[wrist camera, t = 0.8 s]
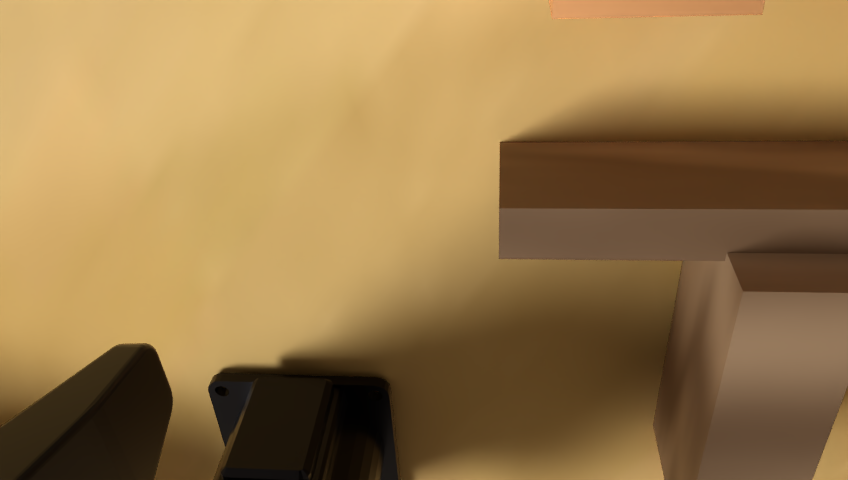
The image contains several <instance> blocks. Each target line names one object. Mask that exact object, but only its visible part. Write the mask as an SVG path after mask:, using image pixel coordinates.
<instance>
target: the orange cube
mask: <svg viewBox="0 0 848 480" xmlns="http://www.w3.org/2000/svg"><path fill="white" fill-rule="evenodd" d="M764 3H765V0H549V4H550V10H551V16H552V19H577V18H625V17H672V16H719V15H762V13H763V8H764Z"/></svg>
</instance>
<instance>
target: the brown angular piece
mask: <svg viewBox="0 0 848 480" xmlns="http://www.w3.org/2000/svg"><path fill="white" fill-rule="evenodd" d="M499 259H569V260H664V261H683V262H682V268H681V273H680V279H679V284H678V290H677V295H676V301H675V307H674V312H673V318H672V323H671V329H670V334H669V340H668V345H667V351H666V356H665V362H664V367H663V373H662V378H661V384H660V390H659V395H658V401H657V406H656V412H655V417H654V423H653V427H654V432H655V436H656V441H657V446H658V451H659V455H660V460H661V465H662V470H663V474H664V479H665V480H812V479H813V476H814V474H815V471H816V468H817V466H818V463H819V461H820V458H821V455H822V453H823V450H824V447H825V445H826V442H827V439H828V437H829V434H830V432H831V429H832V426H833V424H834V421H835V418H836V416H837V413H838V410H839V408H840V405H841V403H842V400H843V397H844V395H845V392H846V389H847V387H848V141H670V142H500V195H499Z"/></svg>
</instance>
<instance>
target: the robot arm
mask: <svg viewBox="0 0 848 480" xmlns="http://www.w3.org/2000/svg"><path fill="white" fill-rule="evenodd" d="M223 387H225V388H223ZM208 391H209V394H210V398H211V401H212V404H213V408H214V411H215V414H216V418H217V421H218V424H219V428H220V431H221V434H222V438H223V441H224V444H225V449H224V452H223V455H222V457H221V460H220V463H219V465H218V468H217V471H216V473H215V476H214V478H213V480H400V471H399V462H398V452H397V443H396V433H395V424H394V414H393V405H392V395H391V387H390V385H389V383H388V382H387V381H386V380H384V379H382V378H377V377H348V376H311V375H274V374H237V373H220V374H216V375H214V376H213V378H212V380H211V382H210V385H209V387H208ZM373 391H378V393H377V392H373ZM172 405H173V397H172V391H171V388H170V385H169V383H168V380H167V377H166V375H165V372H164V369H163V367H162V364H161V361H160V359H159V356H158V354H157V352H156V350H155V348H154V347H153V346H152V345H150V344H146V343H137V344H119V345H116V346H115V347H113V348H111V349H110V350H109V351H107V352H106V353H104V354H103V355H101V356H100V357H99V358H97V359H96V360H94V361H93V362H92V363H90V364H89V365H87V366H86V367H84V368H83V369H82V370H80V371H79V372H77V373H76V374H75V375H73V376H72V377H70V378H69V379H67V380H66V381H65V382H63V383H62V384H60V385H59V386H58V387H56V388H55V389H53V390H52V391H50V392H49V393H48V394H46V395H45V396H43V397H42V398H41V399H39V400H38V401H36V402H35V403H33V404H32V405H31V406H29V407H28V408H26V409H25V410H24V411H22V412H21V413H19V414H18V415H16V416H15V417H14V418H12V419H11V420H9V421H8V422H7V423H5V424H4V425H2V426H1V427H0V480H154V478H155V474H156V470H157V467H158V463H159V459H160V455H161V451H162V447H163V443H164V439H165V435H166V432H167V428H168V424H169V420H170V416H171V412H172Z"/></svg>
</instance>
